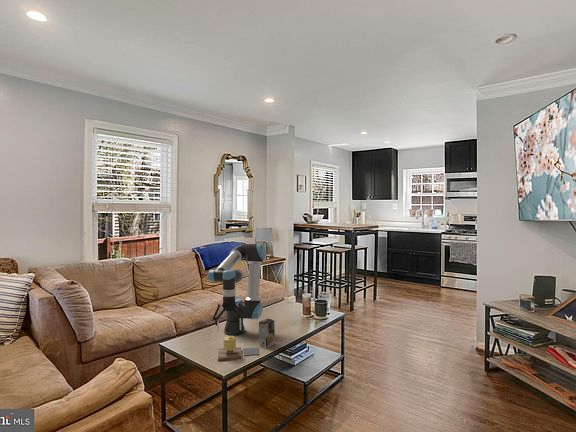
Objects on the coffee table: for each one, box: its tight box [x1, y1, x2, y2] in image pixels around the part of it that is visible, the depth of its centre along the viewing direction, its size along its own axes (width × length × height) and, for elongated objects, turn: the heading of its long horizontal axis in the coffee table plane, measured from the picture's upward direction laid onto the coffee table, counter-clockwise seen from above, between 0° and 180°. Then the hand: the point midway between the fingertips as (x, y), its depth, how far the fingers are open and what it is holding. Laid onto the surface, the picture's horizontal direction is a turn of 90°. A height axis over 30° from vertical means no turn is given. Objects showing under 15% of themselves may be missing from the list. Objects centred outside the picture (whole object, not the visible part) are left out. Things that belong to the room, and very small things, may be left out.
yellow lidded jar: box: [223, 335, 237, 351], centre depth 208 cm, size 8×8×7 cm
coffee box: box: [258, 318, 276, 349], centre depth 223 cm, size 9×6×16 cm
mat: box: [243, 347, 260, 357], centre depth 212 cm, size 10×9×1 cm
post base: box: [217, 346, 243, 362], centre depth 208 cm, size 14×14×10 cm
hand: (229, 330), depth 208 cm, fingers open, 13 cm apart
